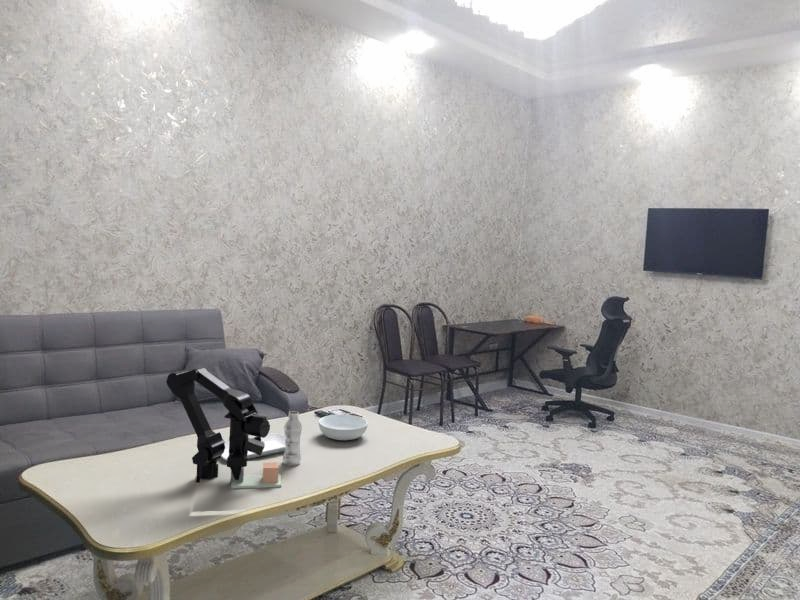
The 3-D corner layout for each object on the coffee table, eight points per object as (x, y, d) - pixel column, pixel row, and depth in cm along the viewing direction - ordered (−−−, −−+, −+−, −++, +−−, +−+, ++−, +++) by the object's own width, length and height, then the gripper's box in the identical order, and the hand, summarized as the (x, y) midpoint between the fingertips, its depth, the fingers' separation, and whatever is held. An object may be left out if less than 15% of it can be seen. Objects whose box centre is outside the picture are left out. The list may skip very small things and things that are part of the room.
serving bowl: (309, 440, 252) (310, 424, 252) (329, 427, 272) (330, 411, 272) (356, 448, 247) (357, 431, 246) (373, 433, 267) (374, 418, 266)
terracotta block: (262, 482, 202) (263, 468, 201) (262, 477, 207) (263, 462, 206) (278, 482, 203) (278, 467, 202) (277, 476, 208) (278, 462, 207)
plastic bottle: (304, 465, 225) (306, 412, 223) (292, 470, 219) (294, 416, 217) (290, 461, 228) (293, 409, 226) (278, 466, 222) (280, 412, 220)
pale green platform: (230, 488, 198) (230, 473, 197) (231, 477, 206) (231, 463, 206) (281, 486, 201) (281, 471, 201) (280, 476, 210) (281, 461, 210)
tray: (300, 451, 240) (300, 443, 239) (225, 467, 219) (226, 458, 218) (277, 439, 252) (277, 431, 252) (205, 454, 231) (205, 445, 231)
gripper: (263, 441, 194) (262, 488, 195) (263, 423, 212) (261, 467, 213) (227, 441, 191) (225, 489, 193) (230, 423, 209) (228, 467, 211)
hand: (237, 478), depth 202 cm, fingers closed on pale green platform, 2 cm apart
